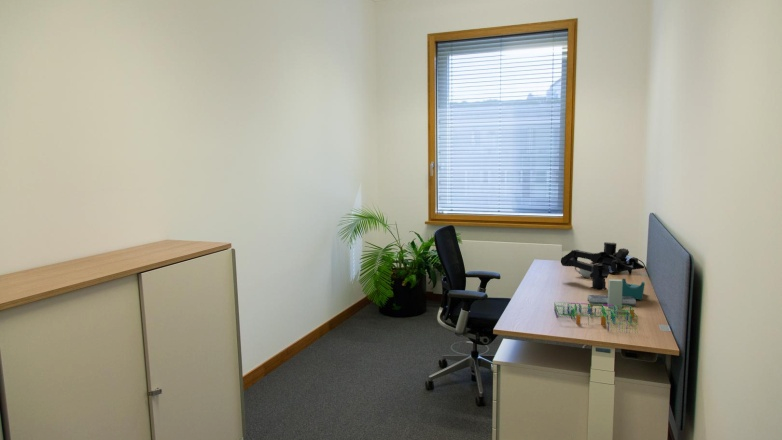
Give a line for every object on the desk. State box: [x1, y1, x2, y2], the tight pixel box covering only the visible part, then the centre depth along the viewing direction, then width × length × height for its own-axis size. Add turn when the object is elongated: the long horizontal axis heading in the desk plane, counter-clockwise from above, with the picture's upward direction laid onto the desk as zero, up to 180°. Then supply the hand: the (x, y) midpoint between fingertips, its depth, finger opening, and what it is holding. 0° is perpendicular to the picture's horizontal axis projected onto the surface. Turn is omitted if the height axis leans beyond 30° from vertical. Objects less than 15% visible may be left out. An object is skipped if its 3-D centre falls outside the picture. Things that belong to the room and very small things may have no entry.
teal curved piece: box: [621, 278, 645, 301], centre depth 271 cm, size 18×11×10 cm, turn 151°
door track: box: [587, 294, 637, 307], centre depth 258 cm, size 22×8×3 cm, turn 78°
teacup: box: [573, 262, 593, 279], centre depth 321 cm, size 14×11×8 cm
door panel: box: [607, 278, 623, 309], centre depth 250 cm, size 6×3×14 cm, turn 78°
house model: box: [553, 301, 639, 334], centre depth 228 cm, size 35×30×5 cm
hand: (638, 268), depth 265 cm, fingers open, 9 cm apart
